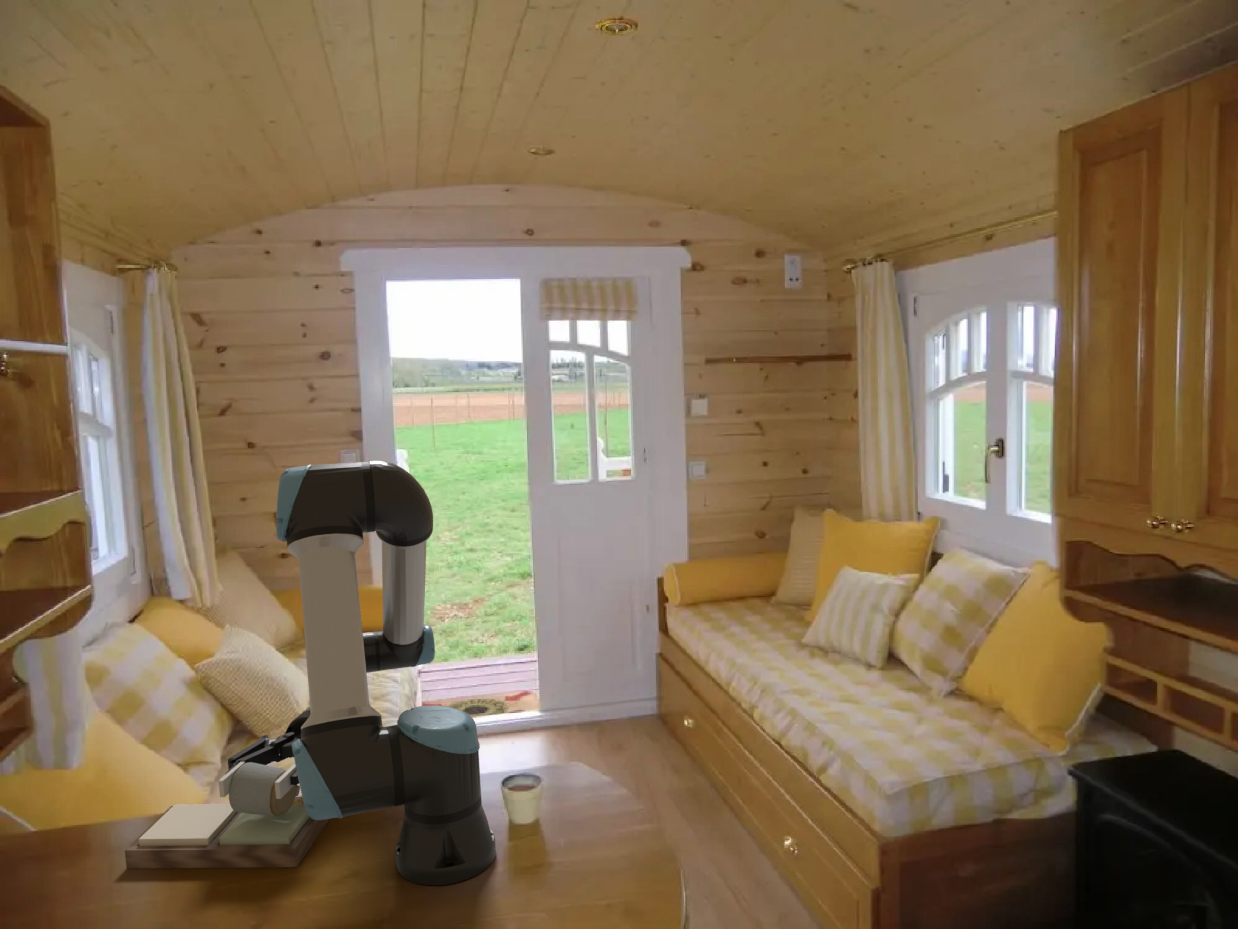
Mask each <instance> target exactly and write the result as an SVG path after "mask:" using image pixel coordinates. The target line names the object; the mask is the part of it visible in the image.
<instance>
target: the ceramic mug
mask: <svg viewBox="0 0 1238 929" xmlns="http://www.w3.org/2000/svg"><path fill="white" fill-rule="evenodd" d="M287 770H288V769H286V768H282V767H277V766H271V765H268V764H267V765H262V764H257V763H252V762H249V763H245V764H243V765H242V766H241V767H240V768H239V769H238V770H237V771H236V773H235V774H234V776H233V778H232V781H231V784H230V789H229V794H228V802H229V804H230V806H231V807H232V809H233V810H234V811H236V812H240V813H248V814H257V815H265V816H280V815H283V814H284V813H285V812H287V811H288V810H289V808H290V807H291V806H292V804H293V803H295V802H294V801H295V799H296V798H297V797H298V796H299V795H300V792H301V788H300V785H299V784H297V785H294V786H293V787H292V788H291V789H290V790H289V791H288V792H287V793H286V794H285V795H284V796H283V797H282V798H281V799H276V792H275V781H276V780H278V779H279V778H280V777H281V776H282V775H283V774H284V773H285V772H286V771H287Z"/></svg>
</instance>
